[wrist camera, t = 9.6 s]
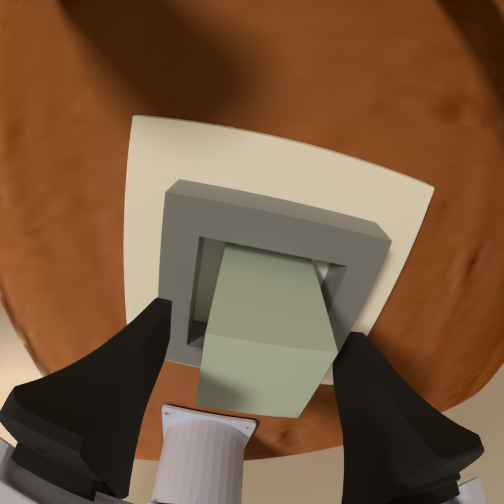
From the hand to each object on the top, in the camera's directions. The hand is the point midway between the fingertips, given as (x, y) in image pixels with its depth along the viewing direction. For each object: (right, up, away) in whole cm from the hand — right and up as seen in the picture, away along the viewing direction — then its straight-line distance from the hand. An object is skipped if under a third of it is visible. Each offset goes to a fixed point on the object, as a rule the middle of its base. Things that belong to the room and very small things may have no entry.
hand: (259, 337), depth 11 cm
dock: (0, +2, +4) cm, 5 cm away
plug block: (0, +2, +3) cm, 4 cm away
